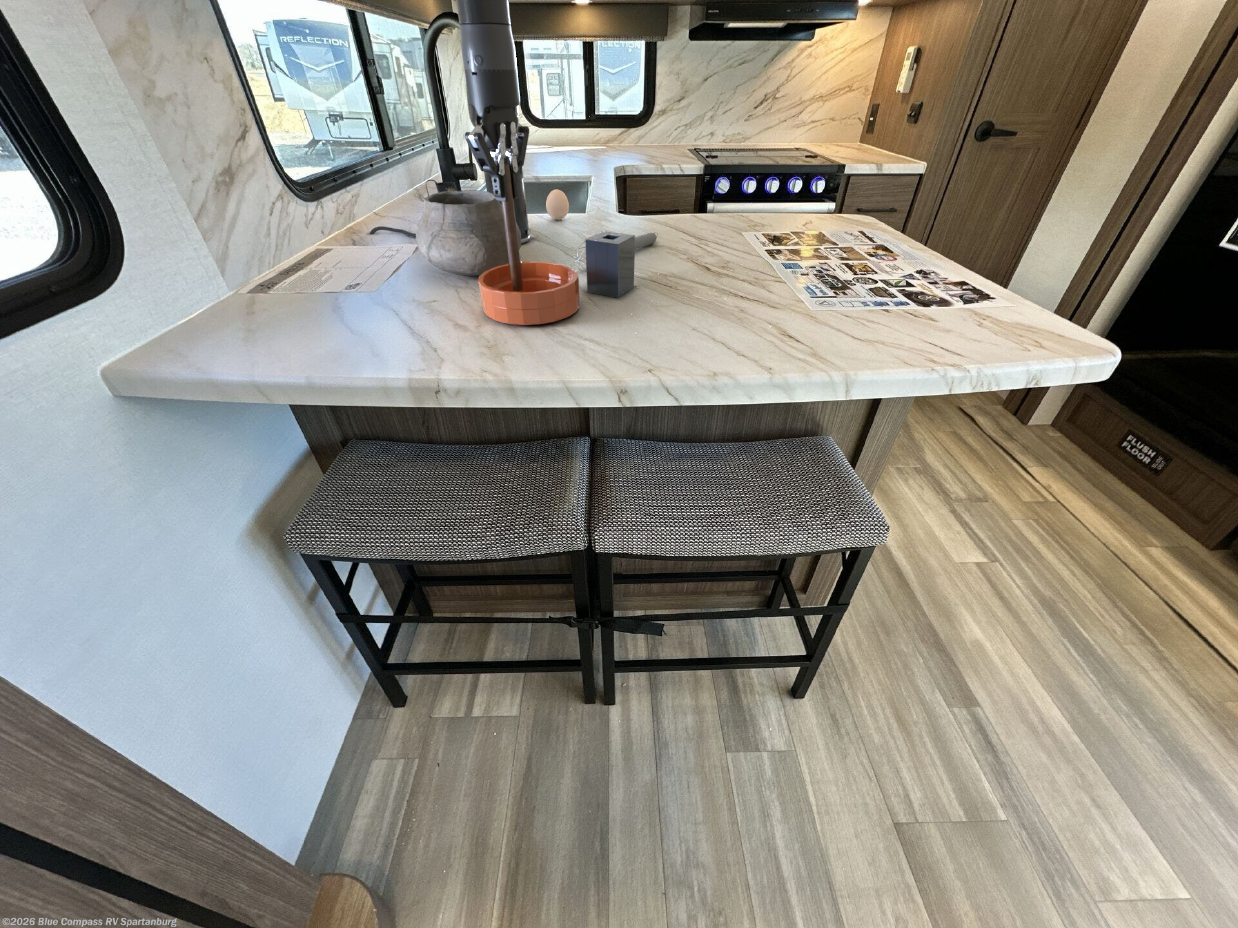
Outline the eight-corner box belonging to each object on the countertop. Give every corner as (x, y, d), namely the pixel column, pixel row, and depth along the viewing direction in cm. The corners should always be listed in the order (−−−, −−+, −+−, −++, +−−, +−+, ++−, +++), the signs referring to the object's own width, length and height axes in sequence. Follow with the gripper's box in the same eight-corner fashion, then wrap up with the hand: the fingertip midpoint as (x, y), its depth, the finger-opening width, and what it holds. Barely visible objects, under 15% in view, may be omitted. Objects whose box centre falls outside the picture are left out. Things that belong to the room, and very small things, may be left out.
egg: (574, 219, 149) (572, 189, 144) (558, 223, 145) (556, 192, 140) (558, 216, 152) (556, 186, 147) (542, 220, 148) (539, 189, 143)
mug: (464, 225, 143) (456, 177, 136) (464, 230, 139) (455, 181, 132) (435, 226, 142) (425, 178, 134) (434, 231, 138) (424, 182, 130)
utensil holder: (587, 292, 101) (585, 239, 95) (604, 281, 106) (603, 231, 100) (618, 298, 98) (618, 244, 92) (633, 287, 103) (635, 235, 97)
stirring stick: (510, 290, 93) (494, 165, 80) (517, 287, 94) (501, 163, 82) (519, 292, 92) (504, 166, 80) (525, 288, 93) (511, 164, 81)
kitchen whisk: (666, 243, 129) (668, 216, 125) (590, 280, 107) (589, 249, 103) (646, 239, 132) (647, 213, 128) (567, 275, 110) (565, 245, 106)
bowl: (463, 316, 91) (457, 283, 87) (522, 287, 103) (518, 256, 100) (544, 335, 85) (541, 300, 81) (596, 301, 97) (595, 270, 93)
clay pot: (537, 260, 117) (530, 188, 108) (502, 291, 101) (490, 209, 92) (451, 254, 121) (437, 184, 112) (404, 283, 105) (383, 204, 95)
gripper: (499, 67, 79) (513, 190, 90) (437, 66, 70) (461, 205, 80) (539, 67, 76) (548, 194, 87) (479, 66, 67) (498, 210, 78)
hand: (506, 199), depth 84 cm, fingers closed on stirring stick, 2 cm apart
